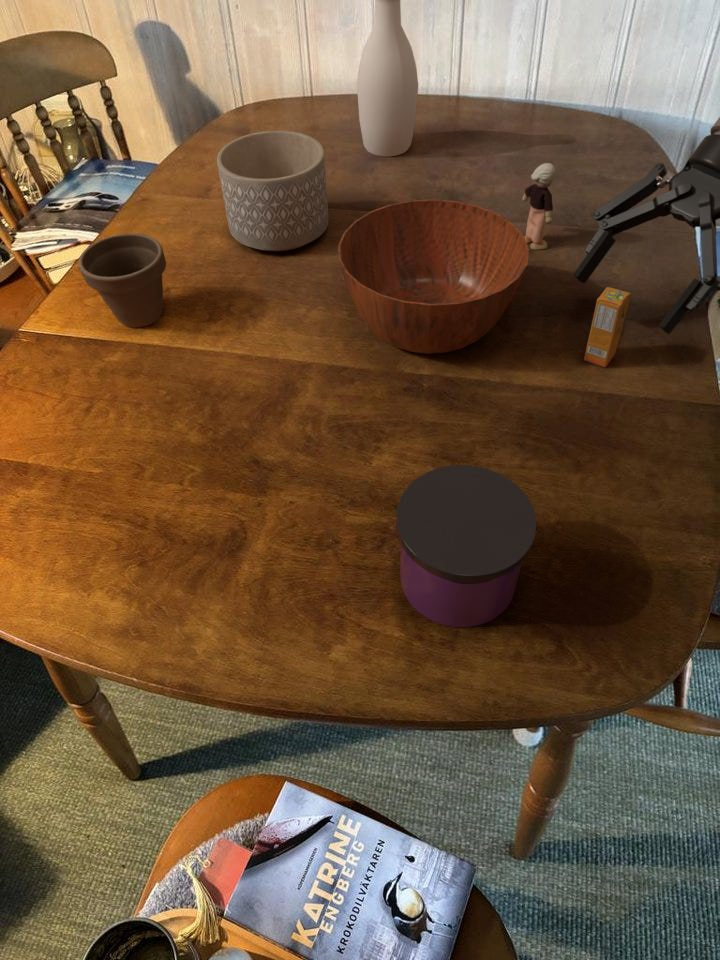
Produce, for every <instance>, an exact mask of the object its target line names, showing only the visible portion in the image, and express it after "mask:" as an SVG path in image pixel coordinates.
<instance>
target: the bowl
mask: <svg viewBox="0 0 720 960" xmlns="http://www.w3.org/2000/svg"><path fill="white" fill-rule="evenodd" d="M524 236H525V235H524V234H523V233H522V232H521V231H520V230H519V229H518V227H517V226H516V225H515V224H514V223H513V222H511V221H510V220H508V219H507V218H504V217H503V216H502V215H500V214H499V213H497V212H494V211H492V210H489V209H488V208H485V207H482V206H479V205H475V204H471V203H467V202H463V201H457V200H448V199H435V198H434V199H433V198H432V199H413V200H412V199H411V200H406V201H402V202H396V203H390V204H387V205H385V206H382V207H379V208H376V209H374V210H371V211H369V212H367V213H365V214H364V215H363V216H361V217H359V218H358V219H355V220H354V221H353V222H352V223H351V224H350V225H349V227H347V228H346V230H345V231H343V233H342V236H341V238H340V240H339V243H338V245H337V247H338V250H337V251H338V262H339V266H340V269H341V273H342V276H343V279H344V282H345V285H346V288H347V291H348V293H349V295H350V298H351V300H352V302H353V303H354V306H355V308H356V309H357V311H358V313H359V315H360V317H361V319H362V320H363V322H364V323H365V325H366V326H367V327H368V328H369V329H370V330H371V331H372V332H373V333H374V334H375V335H376V336H377V337H378V338H379V339H381V340H382V341H384V342H385V343H388V344H389V345H391V346H393V347H395V348H398V349H400V350H405V351H407V352H410V353H417V354H426V355H431V354H432V355H433V354H446V353H449V352H454V351H458V350H461V349H464V348H465V347H468V346H470V345H472V344H474V343H476V342H478V341H479V340H480V339H481V338H482V337H483V336H486V334H487V333H488V332H490V331H491V330H492V329H493V328H494V327H495V325H496V324H497V323H498V321H499V320H500V319H501V317H502V316H503V314H504V312H505V311H506V310H507V307H508V306H509V304H510V303H511V301H512V300H513V298H514V296H515V294H516V292H517V290H518V288H519V285H520V283H521V282H522V279H523V277H524V274H525V272H526V270H527V267H528V263H529V257H530V256H529V255H530V248H529V246H528V243H527V242H526V240H525V237H524Z"/></svg>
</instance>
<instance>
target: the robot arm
mask: <svg viewBox="0 0 720 960" xmlns="http://www.w3.org/2000/svg"><path fill="white" fill-rule="evenodd" d="M709 132H710V134H708V135H705V136H704V137H703V139H702V140H701V142H700V143H699V144H698V146H697V147H696V149H694V151H693V152H692V154H691V155H690V157H689V158H688V160H686V163H685V164H684V167H683V168H682V169H681V170H680V171H679V172H677V173H673V172H672V171H670V170H668V169H667V168H666V166H665V164H664V163H663V162H657V163H656V164H655V165H654V166H653V167H652V169H651V170H650V171H648V173H647V174H646V176H644V177H643V178H642V179H640V180H639V181H637V182H635V183H634V184H633V185H630V187H628V188H627V189H625V190H623V191H622V192H621V193H619V194H618V195H616V196H615V197H614V198H612V199H611V200H608V201H607V202H606V203H605V204H603V205H602V206H600V207H599V208H597V209H596V210H595V211H593V213H592V218H593V219H594V221H595V222H596V223H597V225H598V229H597V231H596V232H595V234H594V235H593V237H592V238H591V240H590V241H589V242H588V244H587V245H586V247H585V252H586V256H585V257H584V259H583V260H582V261H581V263H580V264H579V265H578V266H577V268H576V270H575V271H574V272H573V274H572V275H573V277H574V278H576V280H577V281H579V283H581V284H583V285H585V284H586V283H587V281H588V280H589V279H590V277H591V276H592V275H593V274H594V272H595V270H596V269H597V267H598V266H599V265H600V263H601V262H602V261H603V260H604V258H605V256H607V254H608V252H609V251H610V249H611V248H612V247H613V245H614V244H615V243H616V239H615V238H614V236H615V235H617V234H620V233H622V232H625V231H628V230H630V229H632V228H634V227H637V226H640V225H642V224H645V223H647V222H650V221H652V220H654V219H657V218H660V217H661V218H665V217H667V216H669V215H671V216H672V217H673V219H675V220H677V221H680V222H685V223H686V224H687V225H688V226H690V227H691V228H694V229H696V228H700V237H701V264H702V267H701V268H702V277H701V280H702V281H701V280H699V279H697V278H693V280H692V281H691V282H690V284H689V285H688V287H687V288H686V289H685V291H684V292H683V293H682V294H681V296H679V298H678V299H677V301H676V302H675V303H674V304H673V306H672V307H671V308H670V310H669V311H668V312H667V313H666V315H665V316H664V318H663V319H662V320H661V321H660V323H659V324H658V326H659V327H660V329H661V330H662V331H663V332H664V333H666V334H668V335H670V334H671V333H672V332H673V330H674V329H675V328H676V326H677V325H678V324H679V323H680V321H681V320H682V319H683V318H684V316H685V315H686V314H687V312H690V313H692V314H694V313H695V312H698V310H699V309H700V308H701V306H702V305H703V303H704V302H705V301H706V300H707V299H708V298H709V296H711V294H712V293H713V292H715V291H720V275H718V254H717V220H720V116H719V117H718V119H717V120H716V121H715V123H714V124H713V125H712V126H711V127H710V131H709ZM667 185H668V191H666V192H663V193H661V194H659V195H656V196H655V197H654V198H653V199H652V200H649V201H647V202H644V203H642V204H640V205H638V204H639V203H641V202H642V201H644V200H645V199H648V197H650V196H651V195H653V194H654V193H656V191H658V190H659V189H663V188H665V187H666V186H667ZM637 205H638V206H637Z"/></svg>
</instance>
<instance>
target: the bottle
mask: <svg viewBox="0 0 720 960" xmlns="http://www.w3.org/2000/svg"><path fill="white" fill-rule="evenodd" d="M401 9H402V8H401V0H374V20H373V21H374V22H373V27H372V28H371V31H370V33H369V35H368V38H367V40H366V42H365V44H364V46H363V49H362V52H361V57H360V61H359V63H358V71H357V80H356V91H357V92H356V93H357V102H358V103H357V104H358V105H357V107H358V120H359V125H360V131H361V138H362V144H363V148H365V150H366V151H367V152H368V153H370V154H371V155H374V156H377V157H384V158H385V157H387V158H388V157H396V156H400V155H402V154H403V155H404V154H405V153H406V152H407V151H408V150H409V149H410V147H411V146H412V143H413V136H414V130H415V126H416V125H415V124H416V119H417V107H418V97H419V95H418V94H419V79H418V78H419V77H418V69H417V64H416V59H415V56H414V52H413V47H412V45H411V43H410V41H409V39H408V37H407V34H406V32H405V30H404V28H403V26H402V15H401V14H402V11H401Z"/></svg>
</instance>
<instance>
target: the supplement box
mask: <svg viewBox="0 0 720 960" xmlns="http://www.w3.org/2000/svg"><path fill="white" fill-rule="evenodd" d="M630 299H631V292H628V291H624V290H622V289H617V288H614V287H610V286H607V287H606V288H605V289H604V290H603V292H602V293H601V294H600V295H599V296H598V298H597V299H596V303H595V308H594V312H593V317H592V321H591V326H590V331H589V335H588V340H587V342H586V343H587V344H586V348H585V353H584V357H583V360H584V361H585V362H587V363H591V364H593V365H595V366H598V367H599V366H600V367H603V368H607V367H608V365H609V363H610V362H611V361H612V359H613V358H614V356H615V355H616V352H617V348H618V345H619V341H620V339H621V334H622V330H623V326H624V322H625V318H626V315H627V311H628V307H629V304H630Z"/></svg>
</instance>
